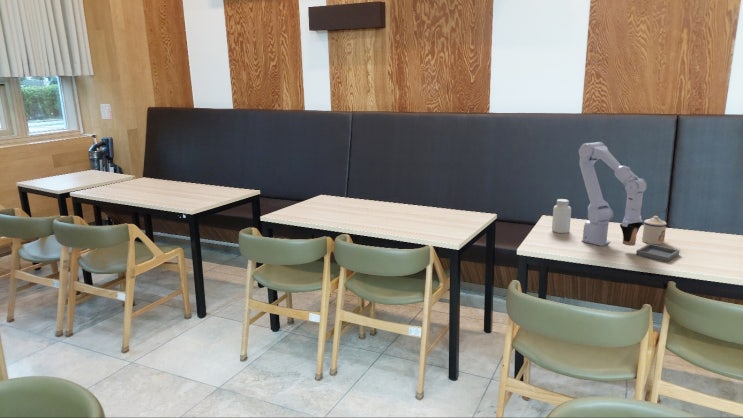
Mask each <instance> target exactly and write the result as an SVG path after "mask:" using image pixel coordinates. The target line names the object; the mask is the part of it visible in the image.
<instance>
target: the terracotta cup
mask: <svg viewBox="0 0 743 418" xmlns="http://www.w3.org/2000/svg"><path fill="white" fill-rule="evenodd" d="M637 234H638V232H637V228H636V227H635V229H634V230H633V232H632V235H631V239H630V241H629V242H627V241H624V239H623V238H622V244H623V245H625V246H629V247H630V246H631V247H632V246H635V245H636V241H637Z"/></svg>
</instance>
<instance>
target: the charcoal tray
mask: <svg viewBox="0 0 743 418" xmlns="http://www.w3.org/2000/svg"><path fill="white" fill-rule="evenodd" d="M635 252H636V253H635V256H638V257H641V258H647V259H651V260H655V261H659V262H664V263H669V262H671V261H672V260H673V259H675V258H676V257H678V256H680V249H674V248H670V247H668V246H667V247H666V246H661V245H655V244H648V243H647V244H645V245H644V246H642V247H640V248H638V249H637V250H636V251H635Z"/></svg>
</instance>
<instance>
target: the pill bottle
mask: <svg viewBox="0 0 743 418" xmlns="http://www.w3.org/2000/svg"><path fill="white" fill-rule="evenodd" d="M571 216H572V207H571V206H570V200H568V199H565V198H557V200H556V204H555V205H554V206H553V210H552V220H551V221H552V222H551V224H552V225H551V231H552V232H553V233H556V232H557V233H558V234H568V233H569V232H570V231H571V230H570V229H571V218H572V217H571Z"/></svg>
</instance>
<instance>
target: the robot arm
mask: <svg viewBox="0 0 743 418" xmlns="http://www.w3.org/2000/svg"><path fill="white" fill-rule="evenodd" d="M579 147H580V148H579V149H578V154H579V162H578V163H579V167H580V168H579V169H580V171H581V175H582V179H583V182H584V187H585V189H586V192H587V196H588V200H589V205H588V206H587V208H586V209H587V219H588V220H586V221H585V223H584V225H583V229H582V231H583V234H582V239H581V242H584V243H587V244H592V245H596V246H601V247H603V246H605V245H608V244H609V243H611V241H610V240H608V231H609V224H610V221H611V220H612V219H613V217H614V211H613V209H612V208H611V206H610V204H609V202H608V201H606V200H605V199H604V196H603V193H602V190H601V186H600V183H599V178H598V177H597V176H598V175H597V172H596V169H595V163H596V162H597V161H598V160H602V162H604V163H605V164H606V165H607V166H608V167H609V168H610V169H611V170H613V172H614V176H615V177H616V179H618V180H619V182H621V184H622V185H623V186H624V189H625V192H626V204H625V210H624V216H623V220H622V221H621V223H620V224H619V227H620V229H621V233H622V237H623V238H622V240H623V239H624V241H627V242H629V241H630V239H631V235H632V232H633V230H634V229H635V227H636V228H637V233H638V232H639V230H640V229H641V226H642V225H643V223H644V220H643V219H642V215H641V212H642V207H643V206H642V204H643V195H644V192H646V191H647V188H648V184H647V182H646V180H645V179H644V178H642V177H641V178H639V176H638V175H636V174H635V173H634V172H633V171H632V170H631V167H630V166H626V165H621V163H620V162H619V160H617V159H616V158H615V157H614V155H613V154H612V153H611V152H610V151H609V148H608V147H607V145H605V143H603V142H602V141H596V142H586V143H585V142H584V143H582V144H581V145H580V146H579Z"/></svg>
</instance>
